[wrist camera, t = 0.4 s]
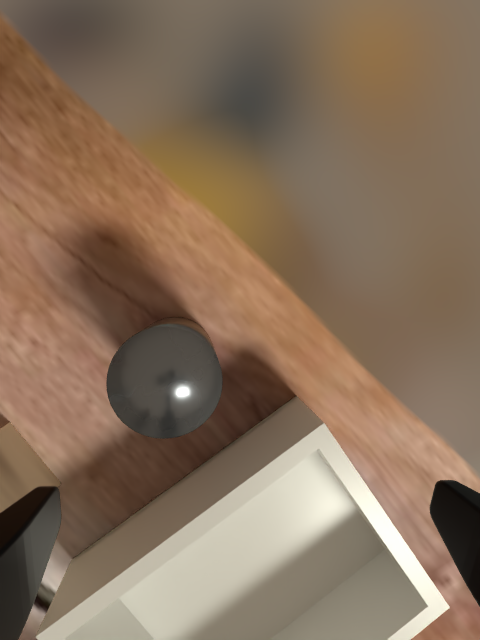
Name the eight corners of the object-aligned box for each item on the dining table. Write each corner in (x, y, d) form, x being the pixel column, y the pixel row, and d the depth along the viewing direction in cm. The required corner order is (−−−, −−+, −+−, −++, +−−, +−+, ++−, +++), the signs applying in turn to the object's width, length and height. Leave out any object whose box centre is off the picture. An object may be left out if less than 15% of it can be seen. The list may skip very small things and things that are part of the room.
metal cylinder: (166, 408, 22) (152, 460, 15) (119, 346, 21) (82, 370, 14) (228, 364, 22) (243, 394, 15) (184, 301, 22) (179, 303, 15)
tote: (197, 704, 24) (197, 812, 19) (71, 559, 22) (35, 637, 17) (398, 545, 25) (449, 607, 20) (296, 395, 23) (324, 422, 18)
